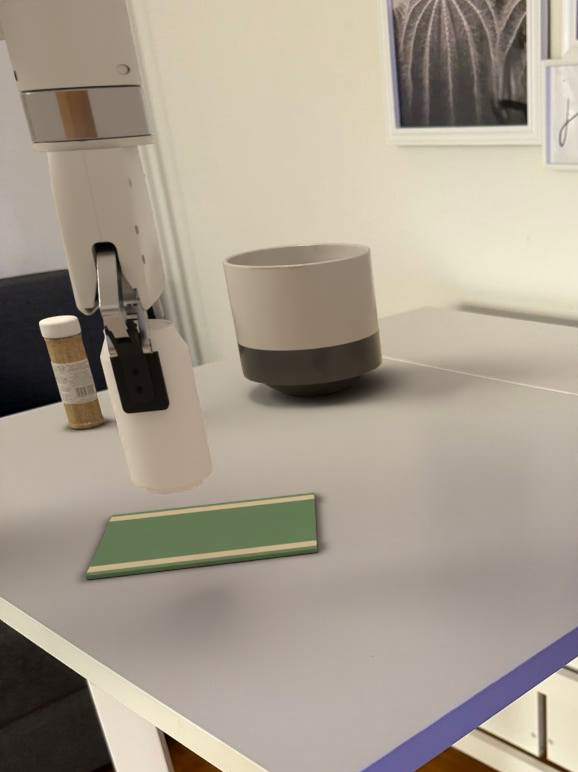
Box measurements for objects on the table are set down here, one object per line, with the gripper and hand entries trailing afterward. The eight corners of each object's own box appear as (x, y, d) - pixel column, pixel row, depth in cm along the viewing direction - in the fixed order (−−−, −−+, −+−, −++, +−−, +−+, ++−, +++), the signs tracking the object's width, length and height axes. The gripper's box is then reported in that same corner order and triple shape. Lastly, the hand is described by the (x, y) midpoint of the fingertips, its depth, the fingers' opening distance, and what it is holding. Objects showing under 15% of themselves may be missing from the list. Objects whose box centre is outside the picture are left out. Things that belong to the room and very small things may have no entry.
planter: (218, 395, 131) (192, 260, 122) (322, 364, 143) (305, 240, 134) (308, 416, 119) (286, 270, 110) (412, 381, 132) (400, 246, 123)
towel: (86, 579, 81) (85, 575, 81) (113, 518, 93) (112, 514, 92) (317, 552, 83) (316, 548, 83) (314, 496, 95) (314, 492, 95)
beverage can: (123, 501, 70) (81, 338, 64) (146, 472, 76) (108, 319, 69) (205, 496, 70) (170, 332, 64) (222, 467, 76) (191, 314, 70)
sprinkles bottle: (101, 417, 124) (73, 312, 117) (108, 425, 121) (80, 318, 114) (65, 424, 122) (35, 318, 115) (72, 432, 119) (41, 324, 112)
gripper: (58, 124, 67) (120, 373, 76) (-8, 130, 52) (78, 438, 62) (164, 117, 68) (213, 365, 77) (128, 121, 53) (194, 426, 62)
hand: (153, 395), depth 69 cm, fingers closed on beverage can, 6 cm apart
